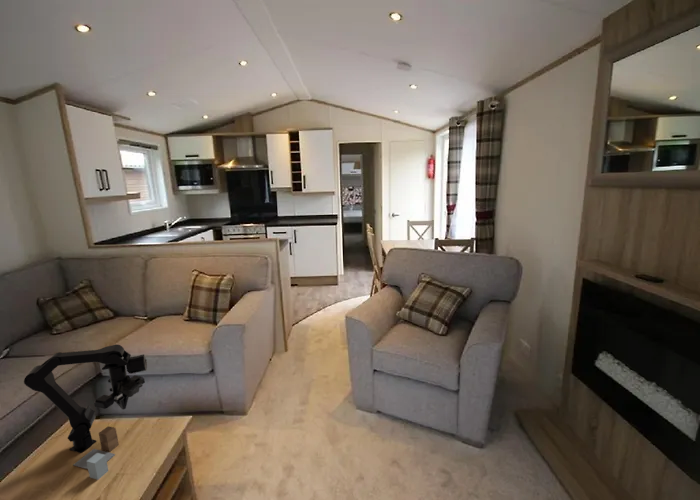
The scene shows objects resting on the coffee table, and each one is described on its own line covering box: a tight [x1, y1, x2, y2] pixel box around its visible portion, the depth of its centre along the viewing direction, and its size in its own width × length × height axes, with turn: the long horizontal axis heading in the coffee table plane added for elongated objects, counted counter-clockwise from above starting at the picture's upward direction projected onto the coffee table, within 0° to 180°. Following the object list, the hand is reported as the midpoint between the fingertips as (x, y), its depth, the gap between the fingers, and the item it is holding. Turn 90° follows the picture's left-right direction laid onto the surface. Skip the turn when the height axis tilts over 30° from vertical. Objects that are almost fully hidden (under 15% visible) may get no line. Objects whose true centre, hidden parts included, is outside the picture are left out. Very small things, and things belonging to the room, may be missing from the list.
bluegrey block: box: [86, 453, 109, 481], centre depth 124 cm, size 4×4×7 cm
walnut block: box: [98, 425, 120, 453], centre depth 136 cm, size 4×4×8 cm
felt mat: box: [73, 448, 116, 470], centre depth 131 cm, size 11×8×1 cm
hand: (123, 409), depth 142 cm, fingers closed
